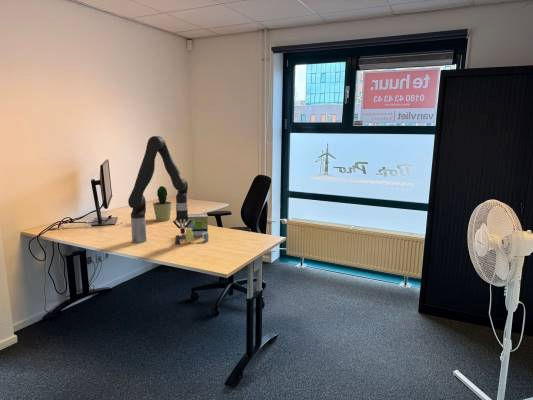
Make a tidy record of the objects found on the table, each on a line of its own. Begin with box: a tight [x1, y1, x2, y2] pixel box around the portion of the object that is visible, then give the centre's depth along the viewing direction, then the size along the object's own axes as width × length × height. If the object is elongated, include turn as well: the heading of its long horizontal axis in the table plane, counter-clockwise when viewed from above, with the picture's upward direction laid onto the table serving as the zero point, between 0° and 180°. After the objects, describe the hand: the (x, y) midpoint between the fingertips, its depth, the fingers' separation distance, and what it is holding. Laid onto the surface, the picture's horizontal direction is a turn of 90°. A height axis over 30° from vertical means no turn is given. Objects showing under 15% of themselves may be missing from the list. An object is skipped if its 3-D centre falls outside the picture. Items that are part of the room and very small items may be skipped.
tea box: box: [186, 213, 209, 235], centre depth 276 cm, size 15×10×15 cm
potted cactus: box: [152, 185, 173, 222], centre depth 319 cm, size 15×15×30 cm
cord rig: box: [174, 231, 209, 246], centre depth 258 cm, size 22×6×6 cm, turn 108°
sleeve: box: [184, 228, 194, 242], centre depth 257 cm, size 5×5×8 cm
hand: (182, 233), depth 255 cm, fingers closed
